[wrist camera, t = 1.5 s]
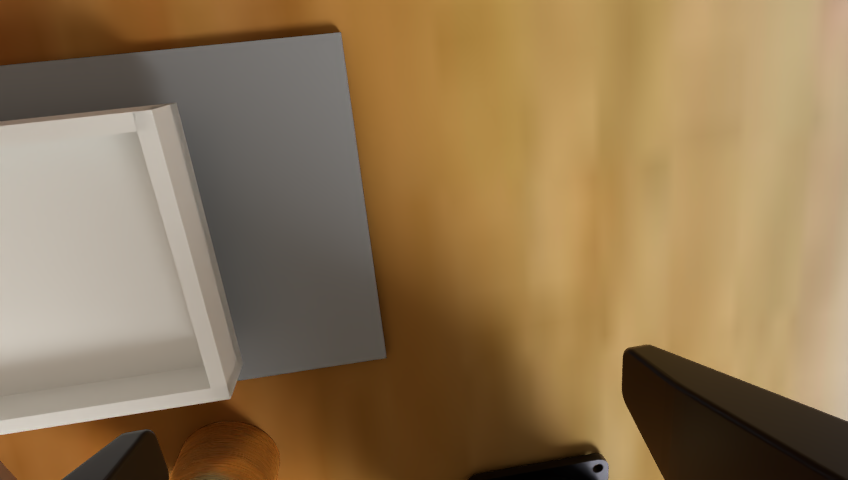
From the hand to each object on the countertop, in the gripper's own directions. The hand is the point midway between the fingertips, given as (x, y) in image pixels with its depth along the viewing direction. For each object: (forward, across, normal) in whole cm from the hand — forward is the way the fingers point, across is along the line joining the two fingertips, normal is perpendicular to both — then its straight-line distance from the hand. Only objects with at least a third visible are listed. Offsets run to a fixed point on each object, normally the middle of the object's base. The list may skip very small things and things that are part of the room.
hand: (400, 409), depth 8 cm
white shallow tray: (+11, +11, 0) cm, 15 cm away
